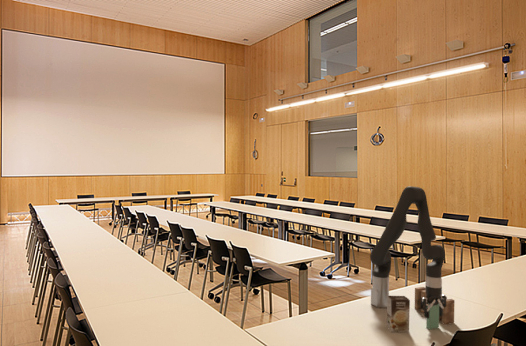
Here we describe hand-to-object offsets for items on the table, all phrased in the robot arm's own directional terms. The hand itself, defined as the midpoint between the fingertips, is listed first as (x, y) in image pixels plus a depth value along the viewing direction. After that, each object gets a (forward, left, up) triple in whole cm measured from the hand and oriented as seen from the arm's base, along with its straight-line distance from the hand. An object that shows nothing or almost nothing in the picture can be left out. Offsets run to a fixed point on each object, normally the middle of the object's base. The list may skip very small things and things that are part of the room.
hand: (433, 316), depth 186 cm
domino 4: (+12, +7, -6) cm, 15 cm away
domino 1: (+12, +22, -6) cm, 26 cm away
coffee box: (-18, +4, -6) cm, 20 cm away
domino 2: (+12, +17, -6) cm, 22 cm away
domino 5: (+12, +2, -6) cm, 13 cm away
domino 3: (0, 0, -6) cm, 6 cm away
